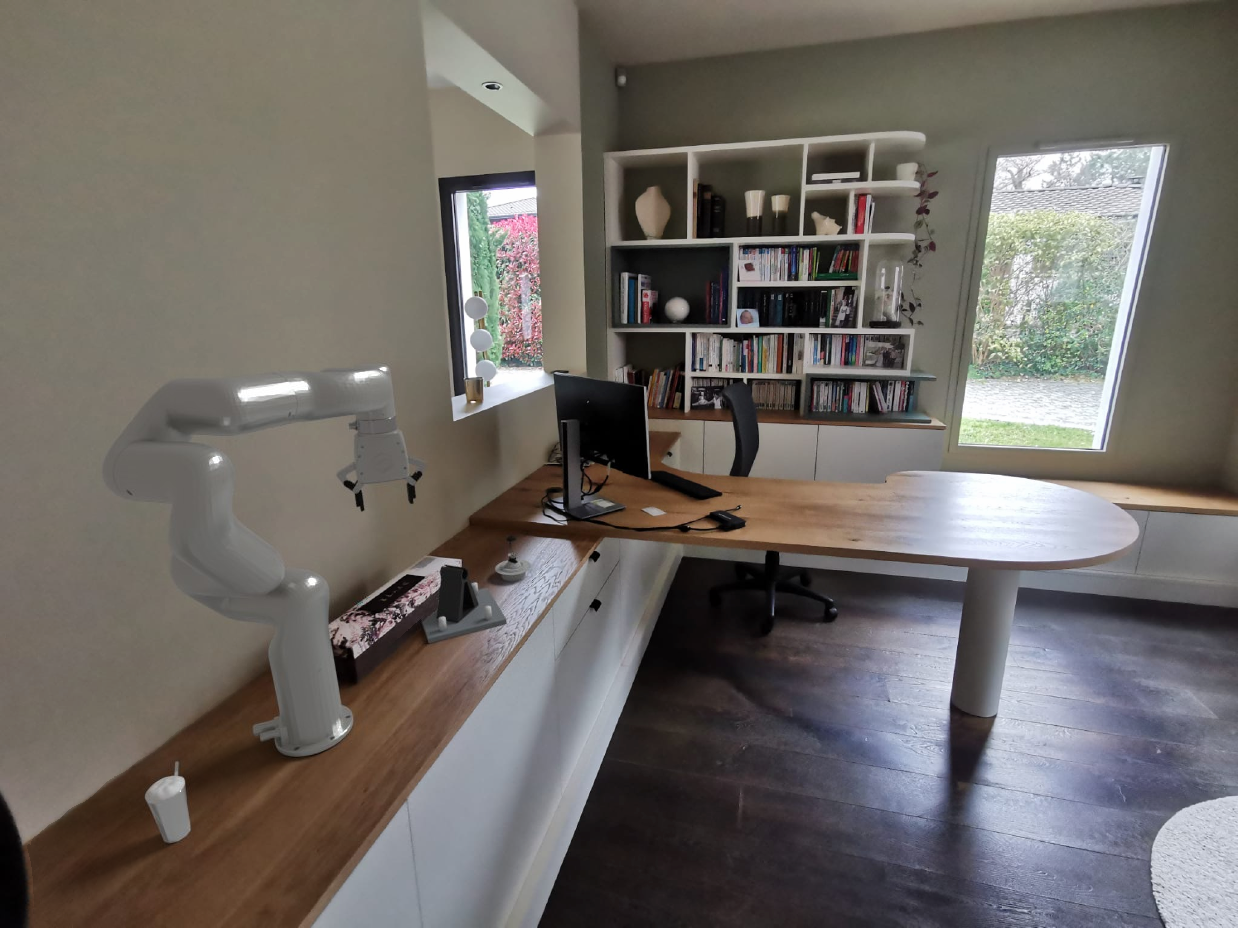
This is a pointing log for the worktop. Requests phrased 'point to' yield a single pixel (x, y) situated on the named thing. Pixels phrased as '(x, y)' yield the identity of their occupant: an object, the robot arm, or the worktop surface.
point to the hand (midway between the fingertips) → (387, 505)
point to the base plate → (466, 619)
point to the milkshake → (170, 807)
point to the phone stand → (455, 594)
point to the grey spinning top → (513, 566)
